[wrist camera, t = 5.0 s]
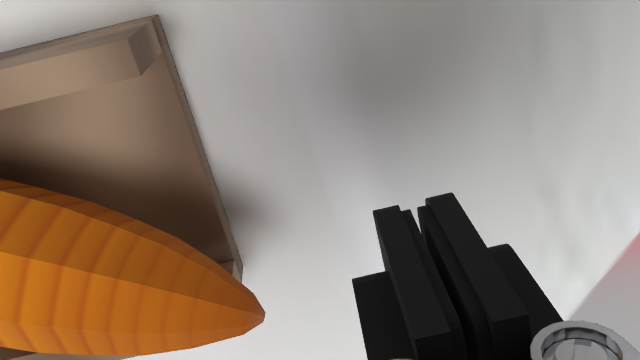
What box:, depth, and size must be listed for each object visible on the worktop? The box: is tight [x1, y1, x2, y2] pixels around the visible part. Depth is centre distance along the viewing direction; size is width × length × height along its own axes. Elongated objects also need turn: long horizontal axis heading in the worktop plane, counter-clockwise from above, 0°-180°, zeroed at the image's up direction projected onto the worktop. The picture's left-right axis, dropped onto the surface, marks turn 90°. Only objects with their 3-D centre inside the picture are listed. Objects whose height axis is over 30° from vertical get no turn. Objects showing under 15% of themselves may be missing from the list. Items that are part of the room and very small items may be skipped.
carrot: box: [0, 178, 265, 355], centre depth 17 cm, size 5×5×15 cm
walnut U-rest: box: [0, 15, 243, 360], centre depth 19 cm, size 12×10×4 cm
